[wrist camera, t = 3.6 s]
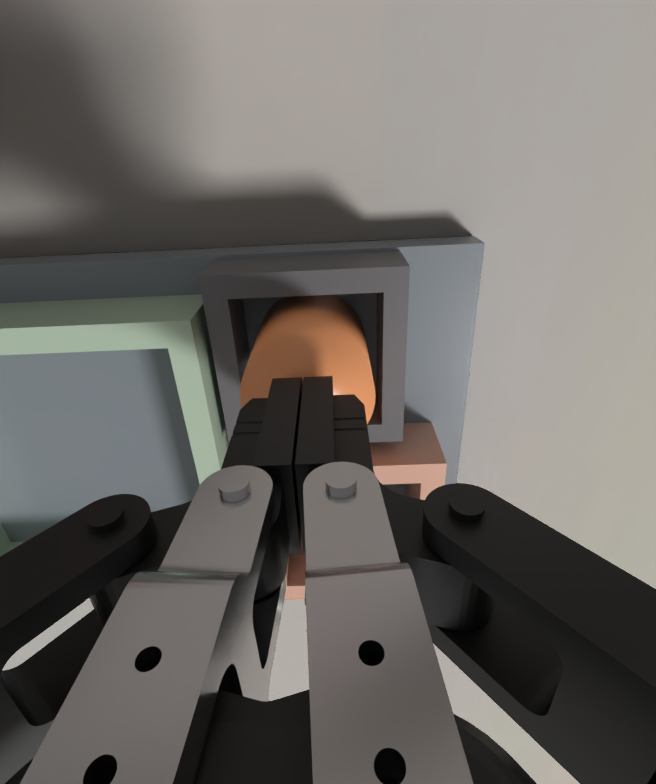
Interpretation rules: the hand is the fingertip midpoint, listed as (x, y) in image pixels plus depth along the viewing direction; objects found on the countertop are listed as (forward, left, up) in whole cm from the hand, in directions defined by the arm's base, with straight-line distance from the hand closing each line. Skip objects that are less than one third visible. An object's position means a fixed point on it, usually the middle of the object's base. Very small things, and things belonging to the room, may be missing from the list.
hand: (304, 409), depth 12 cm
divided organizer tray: (+5, +4, -6) cm, 9 cm away
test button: (0, 0, -4) cm, 5 cm away
